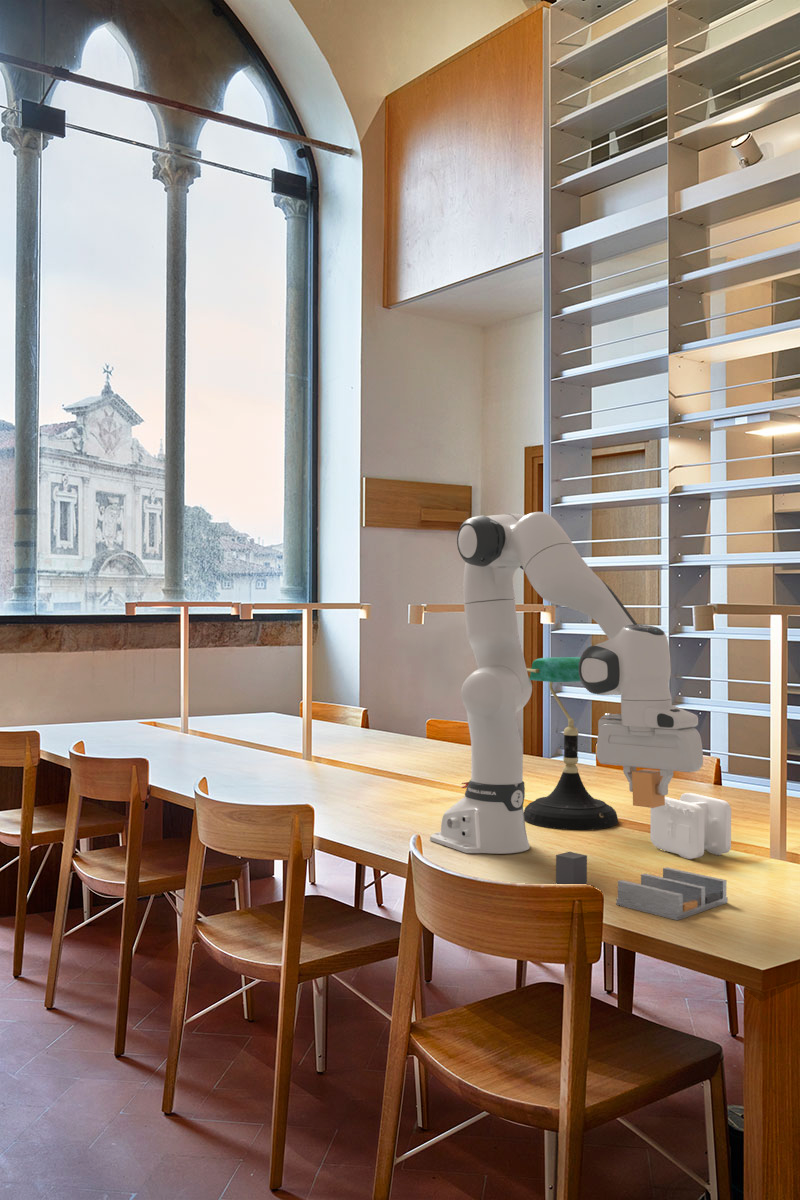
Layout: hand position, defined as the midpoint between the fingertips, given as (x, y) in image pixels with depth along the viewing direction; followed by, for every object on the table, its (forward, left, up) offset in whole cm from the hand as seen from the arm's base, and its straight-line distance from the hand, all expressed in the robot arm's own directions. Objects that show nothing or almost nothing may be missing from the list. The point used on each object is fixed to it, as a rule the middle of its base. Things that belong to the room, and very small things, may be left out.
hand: (648, 793), depth 182 cm
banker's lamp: (-52, +45, -19) cm, 71 cm away
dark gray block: (-13, -5, -19) cm, 23 cm away
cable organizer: (-14, +37, -19) cm, 43 cm away
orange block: (0, 0, -2) cm, 2 cm away
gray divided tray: (+5, 0, -18) cm, 19 cm away
